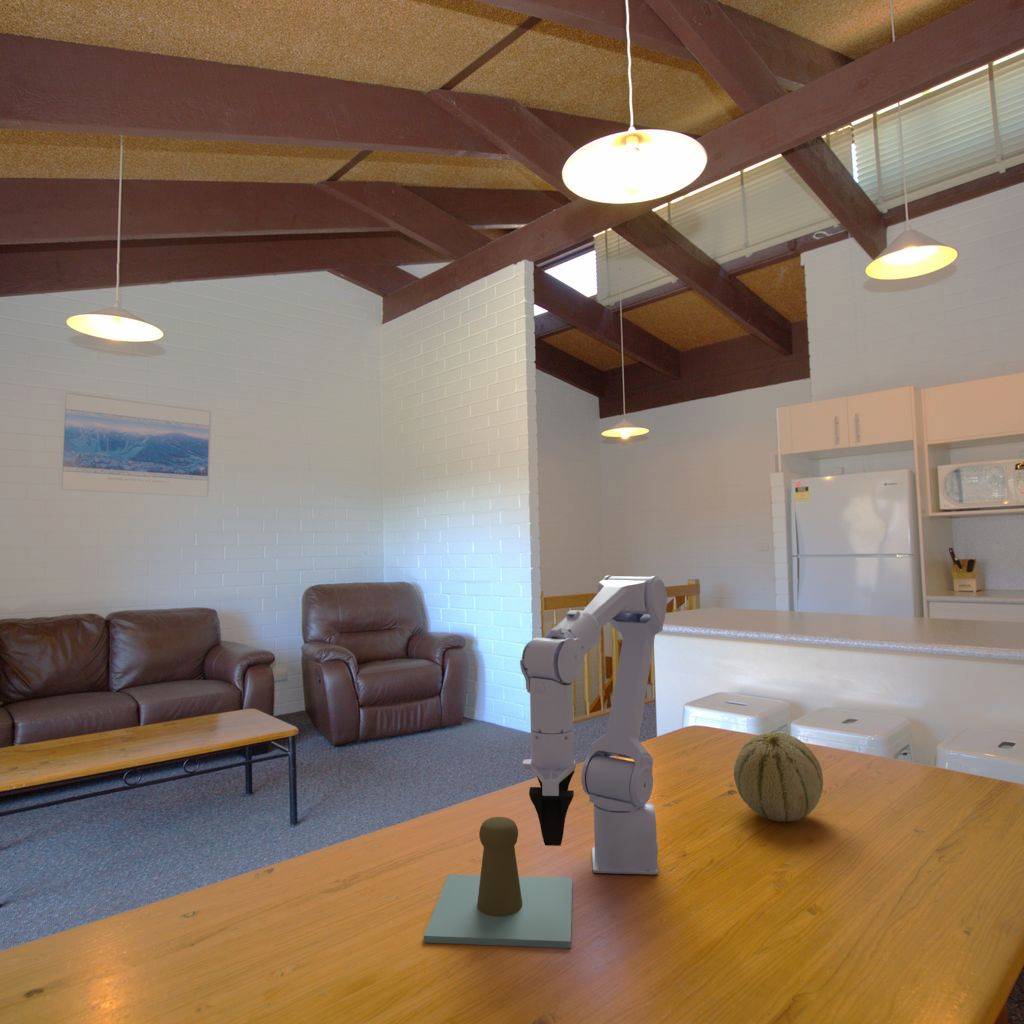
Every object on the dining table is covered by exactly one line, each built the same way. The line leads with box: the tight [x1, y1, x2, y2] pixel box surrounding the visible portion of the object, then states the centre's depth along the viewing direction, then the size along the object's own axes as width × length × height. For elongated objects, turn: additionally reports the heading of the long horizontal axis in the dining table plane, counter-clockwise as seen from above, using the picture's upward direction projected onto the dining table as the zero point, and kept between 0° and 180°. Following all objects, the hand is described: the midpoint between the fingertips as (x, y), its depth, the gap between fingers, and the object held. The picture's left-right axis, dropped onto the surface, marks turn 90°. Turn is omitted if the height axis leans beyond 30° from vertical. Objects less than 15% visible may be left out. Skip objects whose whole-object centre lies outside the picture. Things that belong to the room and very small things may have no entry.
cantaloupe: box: [733, 732, 824, 823], centre depth 122 cm, size 15×15×15 cm
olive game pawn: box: [477, 816, 522, 917], centre depth 92 cm, size 6×6×11 cm
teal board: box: [423, 873, 573, 949], centre depth 92 cm, size 18×16×1 cm
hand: (554, 832), depth 92 cm, fingers open, 7 cm apart
